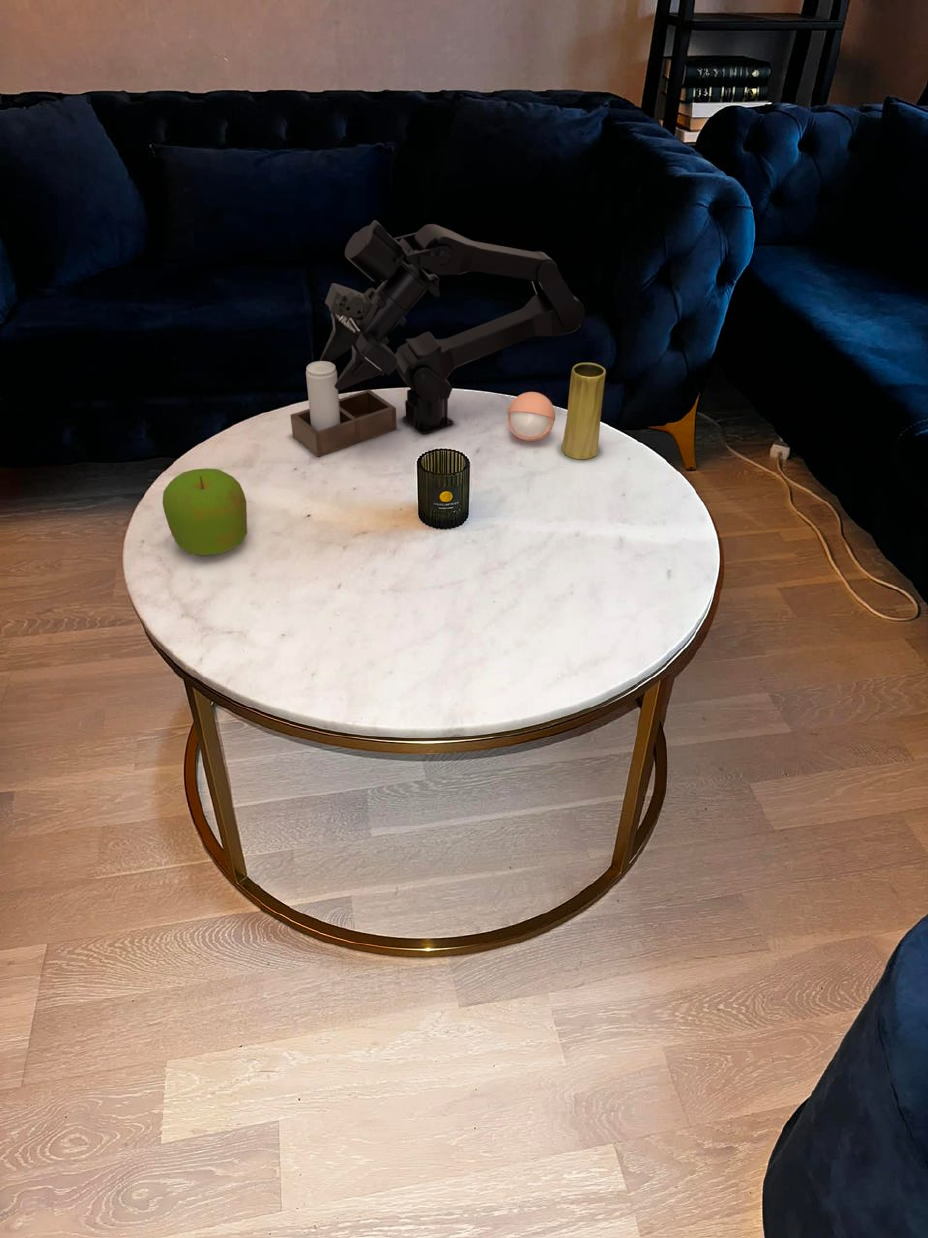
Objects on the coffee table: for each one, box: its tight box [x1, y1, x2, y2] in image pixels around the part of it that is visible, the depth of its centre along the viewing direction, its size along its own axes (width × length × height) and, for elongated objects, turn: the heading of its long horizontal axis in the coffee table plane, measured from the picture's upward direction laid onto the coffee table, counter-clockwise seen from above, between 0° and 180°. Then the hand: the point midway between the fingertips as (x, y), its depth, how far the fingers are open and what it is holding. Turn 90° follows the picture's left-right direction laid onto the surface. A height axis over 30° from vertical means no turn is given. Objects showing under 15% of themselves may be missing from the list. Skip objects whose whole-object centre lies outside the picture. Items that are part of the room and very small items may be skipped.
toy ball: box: [506, 391, 556, 442], centre depth 155 cm, size 8×8×8 cm
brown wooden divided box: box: [290, 389, 397, 458], centre depth 156 cm, size 15×8×4 cm, turn 127°
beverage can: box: [305, 360, 340, 432], centre depth 152 cm, size 5×5×12 cm
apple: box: [161, 467, 248, 556], centre depth 130 cm, size 11×11×11 cm
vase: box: [560, 362, 607, 460], centre depth 150 cm, size 6×6×14 cm
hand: (329, 375), depth 149 cm, fingers open, 9 cm apart
